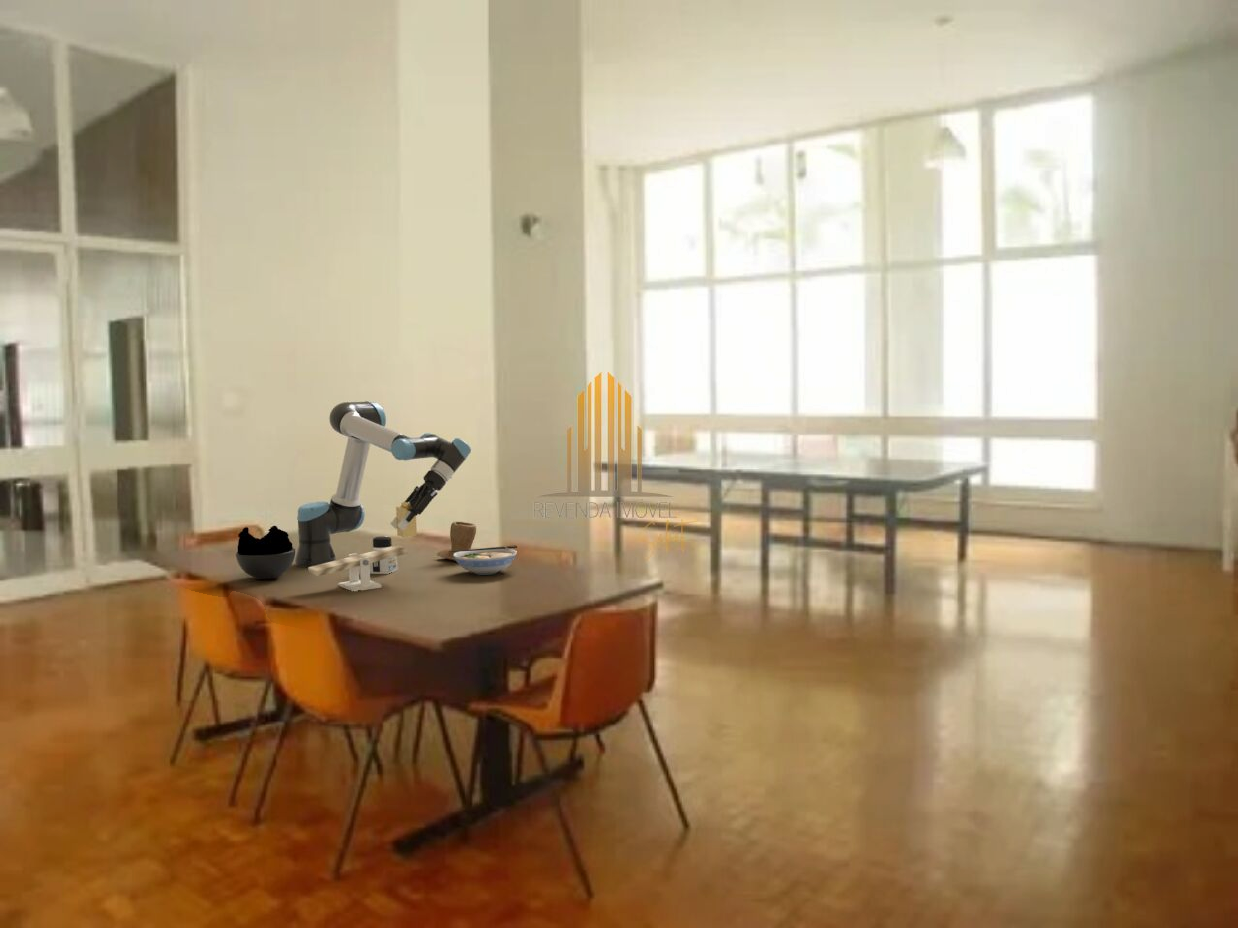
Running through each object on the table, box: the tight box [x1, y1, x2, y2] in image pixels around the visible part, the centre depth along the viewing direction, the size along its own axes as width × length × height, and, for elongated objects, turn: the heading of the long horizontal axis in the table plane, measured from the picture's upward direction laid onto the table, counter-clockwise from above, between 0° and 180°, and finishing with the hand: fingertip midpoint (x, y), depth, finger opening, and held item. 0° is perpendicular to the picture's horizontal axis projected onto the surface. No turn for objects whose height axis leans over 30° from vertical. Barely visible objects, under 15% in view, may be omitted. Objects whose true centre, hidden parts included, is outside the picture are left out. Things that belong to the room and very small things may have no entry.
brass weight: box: [395, 501, 418, 538], centre depth 346 cm, size 5×5×12 cm
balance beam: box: [307, 544, 408, 577], centre depth 337 cm, size 32×8×2 cm, turn 126°
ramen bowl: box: [449, 544, 518, 576], centre depth 357 cm, size 25×23×8 cm
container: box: [370, 535, 398, 575], centre depth 364 cm, size 8×8×13 cm
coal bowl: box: [235, 525, 296, 580], centre depth 354 cm, size 20×20×19 cm
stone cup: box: [436, 520, 477, 562], centre depth 386 cm, size 15×12×15 cm
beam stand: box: [338, 553, 382, 592], centre depth 338 cm, size 10×13×10 cm
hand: (396, 527), depth 344 cm, fingers closed on brass weight, 5 cm apart
